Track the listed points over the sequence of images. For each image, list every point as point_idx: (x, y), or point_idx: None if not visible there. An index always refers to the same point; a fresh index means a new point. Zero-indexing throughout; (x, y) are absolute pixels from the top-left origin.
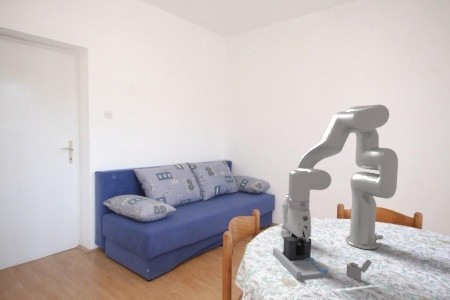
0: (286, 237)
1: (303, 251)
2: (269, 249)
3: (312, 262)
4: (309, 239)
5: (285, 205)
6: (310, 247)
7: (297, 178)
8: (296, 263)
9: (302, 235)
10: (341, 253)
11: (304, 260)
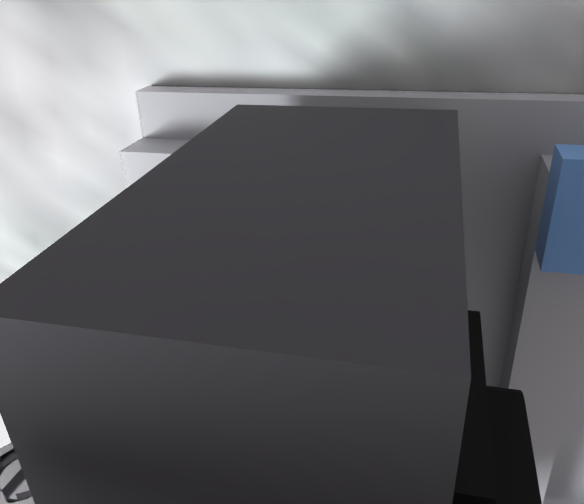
0: None
1: (525, 421)
2: None
3: (565, 120)
4: (458, 446)
5: None
6: (460, 210)
7: None
8: (554, 438)
9: (18, 430)
10: None
11: (539, 301)
